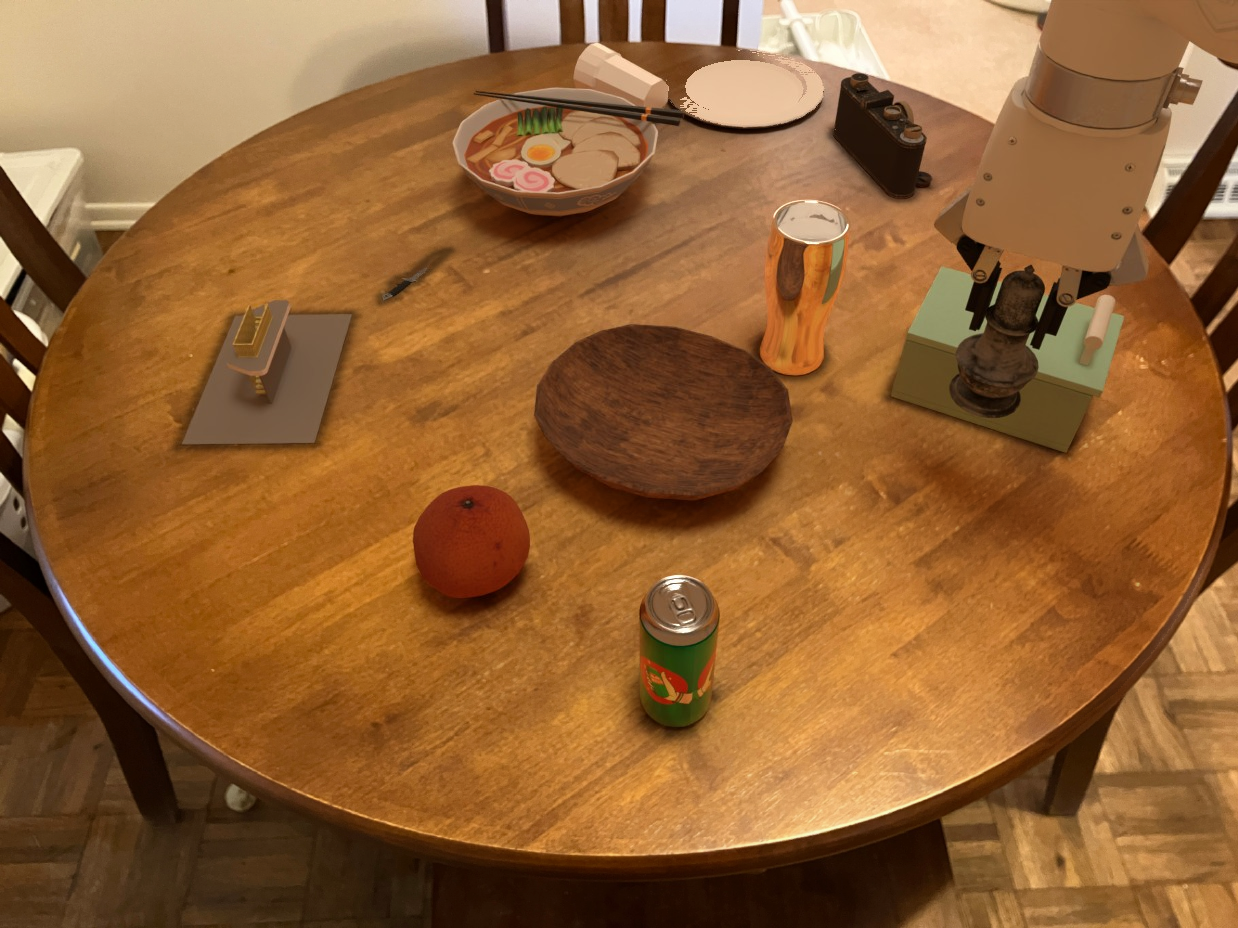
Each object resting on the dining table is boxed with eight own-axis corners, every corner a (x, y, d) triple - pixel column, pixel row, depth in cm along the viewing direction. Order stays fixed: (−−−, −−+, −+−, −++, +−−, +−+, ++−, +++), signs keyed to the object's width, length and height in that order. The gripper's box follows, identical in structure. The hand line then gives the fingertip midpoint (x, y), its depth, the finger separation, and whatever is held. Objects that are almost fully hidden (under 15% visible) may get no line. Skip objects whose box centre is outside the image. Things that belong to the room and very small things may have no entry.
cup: (634, 100, 118) (568, 68, 122) (644, 137, 124) (581, 105, 128) (667, 62, 119) (600, 31, 123) (676, 101, 125) (612, 70, 129)
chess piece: (993, 432, 71) (1043, 303, 62) (929, 390, 74) (968, 262, 65) (1040, 396, 74) (1094, 267, 65) (976, 357, 77) (1020, 229, 68)
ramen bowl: (418, 231, 108) (405, 165, 102) (499, 131, 122) (491, 68, 116) (632, 271, 102) (631, 204, 96) (690, 161, 117) (692, 96, 111)
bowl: (727, 569, 76) (732, 530, 72) (495, 471, 84) (489, 431, 80) (819, 414, 88) (827, 373, 84) (608, 339, 95) (606, 299, 91)
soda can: (693, 657, 71) (700, 559, 62) (722, 716, 68) (734, 622, 59) (629, 680, 70) (626, 584, 61) (656, 741, 67) (658, 649, 58)
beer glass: (795, 390, 90) (817, 255, 78) (739, 353, 93) (753, 220, 82) (842, 355, 93) (870, 221, 82) (787, 321, 96) (806, 189, 85)
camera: (941, 191, 111) (958, 126, 105) (889, 202, 110) (903, 137, 104) (873, 123, 122) (884, 60, 116) (825, 132, 121) (834, 70, 115)
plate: (850, 85, 129) (852, 73, 128) (774, 154, 118) (776, 142, 117) (716, 47, 137) (717, 35, 136) (633, 109, 126) (633, 96, 125)
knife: (444, 251, 106) (444, 247, 105) (456, 256, 105) (455, 253, 105) (375, 298, 101) (374, 294, 100) (386, 304, 100) (385, 300, 99)
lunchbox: (1088, 378, 90) (1115, 321, 85) (1066, 453, 84) (1093, 396, 79) (923, 329, 95) (939, 273, 90) (890, 396, 89) (905, 340, 84)
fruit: (504, 509, 81) (493, 443, 75) (550, 586, 75) (542, 521, 69) (403, 550, 78) (384, 485, 72) (444, 633, 73) (426, 570, 67)
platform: (181, 444, 86) (153, 391, 82) (235, 315, 98) (214, 262, 94) (314, 442, 86) (294, 389, 81) (352, 314, 98) (336, 260, 93)
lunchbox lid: (1121, 322, 85) (1138, 286, 82) (1099, 398, 78) (1117, 361, 75) (939, 272, 90) (949, 236, 87) (905, 339, 84) (915, 303, 81)
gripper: (1261, 84, 55) (1138, 332, 69) (969, 28, 61) (909, 268, 74) (1249, 145, 51) (1121, 397, 64) (936, 80, 56) (879, 325, 70)
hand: (1008, 326), depth 69 cm, fingers closed on chess piece, 3 cm apart
